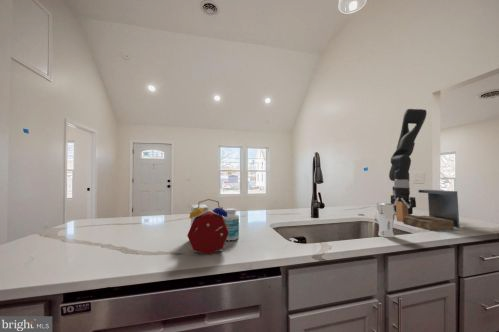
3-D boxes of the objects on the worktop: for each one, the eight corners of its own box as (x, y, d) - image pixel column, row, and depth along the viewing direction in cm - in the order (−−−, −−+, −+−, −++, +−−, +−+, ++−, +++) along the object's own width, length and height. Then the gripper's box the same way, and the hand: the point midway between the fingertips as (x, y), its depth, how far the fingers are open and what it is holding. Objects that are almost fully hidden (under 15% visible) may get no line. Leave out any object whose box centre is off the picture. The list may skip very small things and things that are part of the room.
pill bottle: (224, 242, 86) (224, 210, 86) (220, 237, 93) (220, 208, 93) (241, 240, 88) (241, 209, 89) (236, 235, 95) (236, 207, 96)
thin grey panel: (420, 222, 118) (418, 189, 119) (430, 221, 120) (429, 189, 121) (447, 228, 105) (445, 191, 106) (459, 227, 106) (457, 191, 107)
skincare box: (190, 239, 90) (190, 204, 91) (204, 237, 93) (205, 204, 94) (192, 245, 82) (193, 207, 83) (208, 243, 85) (208, 206, 86)
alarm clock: (227, 247, 79) (227, 197, 80) (228, 256, 71) (228, 200, 72) (189, 250, 77) (190, 198, 78) (185, 259, 68) (186, 201, 69)
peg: (396, 220, 125) (395, 201, 125) (401, 220, 125) (401, 201, 126) (402, 221, 121) (401, 202, 121) (408, 221, 121) (407, 201, 122)
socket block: (403, 223, 116) (403, 216, 116) (425, 222, 119) (425, 215, 119) (429, 230, 102) (429, 222, 102) (453, 228, 105) (453, 220, 106)
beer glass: (375, 236, 93) (374, 203, 94) (378, 232, 98) (377, 202, 99) (394, 239, 88) (392, 205, 89) (396, 235, 93) (394, 203, 94)
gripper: (386, 186, 130) (387, 211, 129) (408, 187, 116) (409, 215, 115) (395, 186, 132) (397, 211, 131) (418, 187, 118) (420, 214, 117)
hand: (403, 213), depth 123 cm, fingers open, 8 cm apart
